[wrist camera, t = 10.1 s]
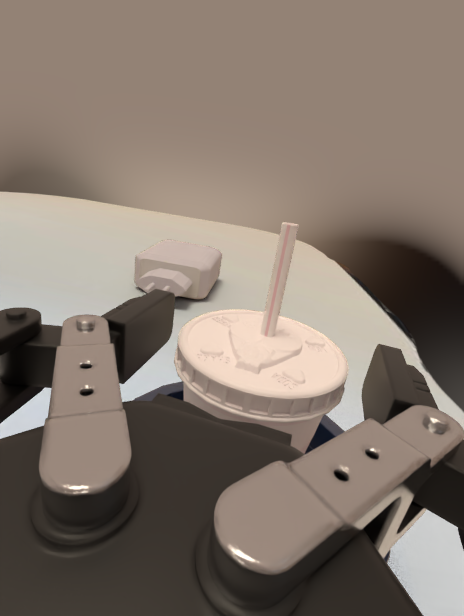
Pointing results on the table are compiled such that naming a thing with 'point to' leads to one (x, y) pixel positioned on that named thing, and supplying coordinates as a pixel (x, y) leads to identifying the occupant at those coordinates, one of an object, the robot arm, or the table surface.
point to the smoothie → (262, 362)
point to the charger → (178, 268)
